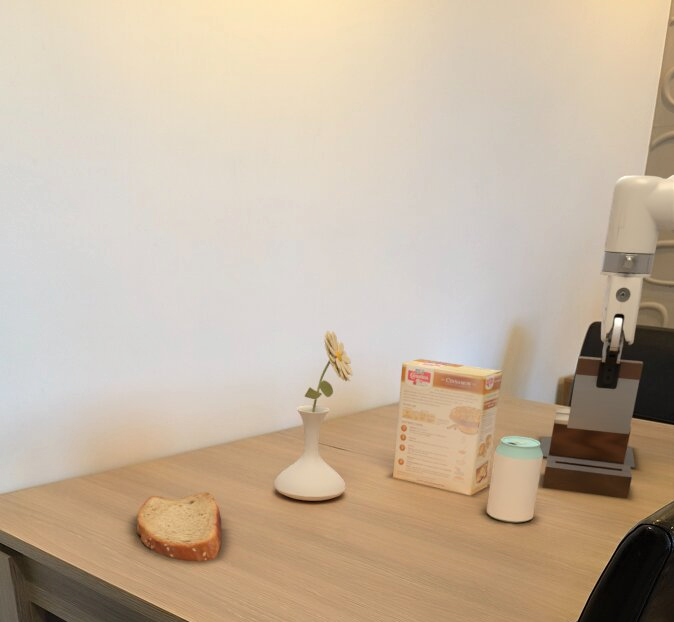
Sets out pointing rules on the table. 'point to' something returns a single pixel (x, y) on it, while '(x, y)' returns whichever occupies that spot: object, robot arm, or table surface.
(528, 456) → the can
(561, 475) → the slotted wooden block
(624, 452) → the wooden box
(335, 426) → the table surface
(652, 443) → the table surface
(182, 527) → the bread slice
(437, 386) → the coffeecake box
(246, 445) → the table surface
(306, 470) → the flower in vase
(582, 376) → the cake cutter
